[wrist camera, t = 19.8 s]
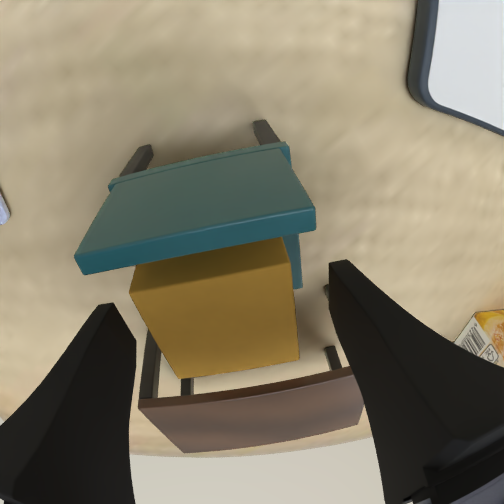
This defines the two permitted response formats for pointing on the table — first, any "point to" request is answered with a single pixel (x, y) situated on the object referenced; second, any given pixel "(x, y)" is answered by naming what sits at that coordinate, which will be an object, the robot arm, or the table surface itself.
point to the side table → (250, 407)
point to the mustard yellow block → (220, 308)
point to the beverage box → (485, 336)
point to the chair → (200, 207)
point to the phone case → (460, 60)
